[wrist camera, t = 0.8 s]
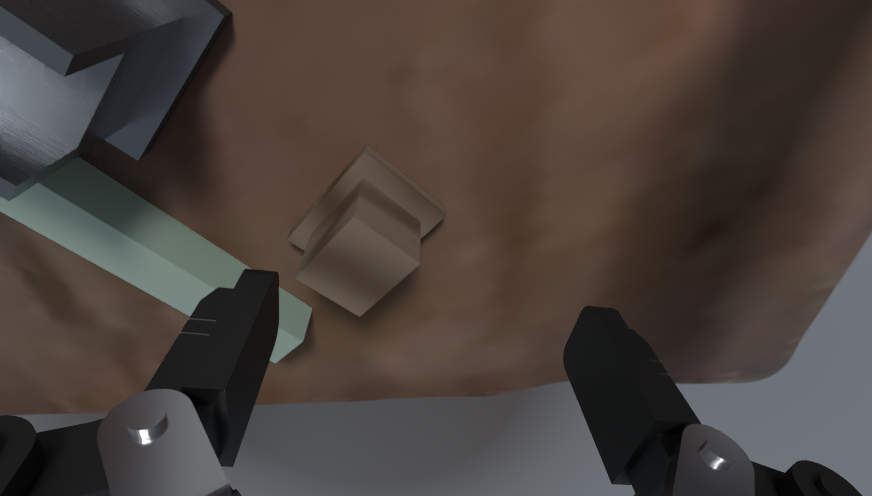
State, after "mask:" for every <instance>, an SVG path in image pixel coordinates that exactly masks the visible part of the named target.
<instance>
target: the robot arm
mask: <svg viewBox="0 0 872 496" xmlns="http://www.w3.org/2000/svg"><path fill="white" fill-rule="evenodd" d="M278 328H279V275H278V272H274V271H264V270H255V269H244V270H243V272H242V274H241V276H240V277H239V279H238V281H237V283H236V285H235V287H234V289H233V288H223V287H218V288H216V289H215V290H214V291H212V292H211V293H210V294H208V295H207V296H205V297H204V298H203V299H201V300H200V302H199V303H198V305H197V306H196V308H195V310H194V311H193V313H192V314H191V316H190V320H188V321H187V323H186V324H185V326H184V327H183V329H182V333H181V334H179V336H178V337H177V339H176V340H175V342H174V344H173V345H172V347H171V348H170V350H169V352H168V353H167V355H166V357H165V358H164V360H163V361H162V363H161V365H160V366H159V368H158V370H157V371H156V373H155V374H154V376H153V378H152V379H151V381H150V382H149V384H148V386H147V387H146V389H145V390H144V391H143V392H141V393H138V394H136V395H133V396H131V397H129V398H127V399H125V400H124V401H122V402H121V403H119V404H118V405H116V406H115V407H114V408H113V409H112V410H111V411H110V412H109V413H108V414H107V415H106V416H105V417H104V418H103V419H100V420H97V421H93V422H89V423H85V424H79V425H74V426H69V427H64V428H59V429H54V430H49V431H44V432H39V433H36V431H35V429H34V427H33V426H32V424H31V423H30V422H29V421H27V420H25V419H23V418H21V417H17V416H8V415H3V416H0V496H241V494H240V493H239V492H238V491H237V490H236V489H235V490H233V489H232V488H231V486H230V484H229V483H228V481H227V478H226V476H225V474H224V472H223V470H222V467H221V466H228V467H233V465H234V462H235V460H236V456H237V453H238V451H239V448H240V445H241V442H242V439H243V436H244V433H245V430H246V428H247V424H248V422H249V419H250V416H251V413H252V410H253V407H254V404H255V401H256V398H257V396H258V393H259V390H260V387H261V384H262V381H263V378H264V375H265V372H266V369H267V366H268V364H269V361H270V358H271V355H272V352H273V349H274V346H275V343H276V339H277V334H278ZM563 361H564V367H565V370H566V373H567V375H568V378H569V380H570V383H571V385H572V387H573V390H574V392H575V395H576V397H577V400H578V402H579V405H580V407H581V410H582V412H583V414H584V417H585V419H586V422H587V424H588V427H589V429H590V432H591V434H592V437H593V439H594V442H595V444H596V447H597V449H598V451H599V454H600V456H601V459H602V461H603V463H604V466H605V468H606V471H607V474H608V476H609V478H610V481H611V483H612V484H622V485H632V487H633V489H634V491H635V495H634V496H862V495H861V494H860V493H859V492H858V491H857V490H856V489H855V488H854V487H853V486H852V485H851V484H850V483H849V482H848V481H846V480H845V479H844V478H843V477H841V476H840V475H838V474H837V473H835V472H834V471H832V470H831V469H829V468H827V467H825V466H823V465H821V464H818V463H815V462H812V461H807V460H804V461H803V460H801V461H798V462H796V463H795V464H794V465H793V466H791V467H790V468H789V469H788V470H787V471H786V472H785V473H784V472H781V471H777V470H775V469H772V468H769V467H766V466H764V465H761V464H758V463H755V462H752V461H750V459H749V457H748V456H747V455H746V453H745V452H744V451H743V450H742V448H741V447H740V446H739V445H738V444H737V443H736V442H735V441H733V440H732V439H731V438H729V437H728V436H727V435H726V434H724V433H722V432H721V431H719V430H716V429H715V428H713V427H710V426H707V425H703V424H701V423H700V421H699V420H698V418H697V417H696V415H695V413H694V412H693V410H692V409H691V408H690V406H689V404H688V403H687V401H686V400H685V398H684V397H683V395H682V394H681V392H680V391H679V389H678V388H677V386H676V385H675V383H674V382H673V380H672V379H671V377H670V376H668V375H667V371H666V370H665V368H664V366H663V365H662V363H659V359H658V357H657V356H656V354H655V353H654V351H653V350H652V348H651V347H650V345H649V344H648V343H647V342H646V341H645V340H644V339H643V338H642V337H640V336H639V335H638V334H637V333H636V332H635V331H634V330H633V329H629V328H628V326H627V325H626V323H625V322H624V320H623V318H622V317H621V315H620V314H619V312H618V311H617V310H616V309H613V308H603V307H594V306H586V307H584V308H583V310H582V311H581V313H580V315H579V318H578V320H577V322H576V324H575V326H574V328H573V331H572V333H571V335H570V337H569V339H568V341H567V343H566V346H565V349H564V355H563Z"/></svg>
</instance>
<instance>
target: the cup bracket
mask: <svg viewBox="0 0 872 496" xmlns="http://www.w3.org/2000/svg"><path fill="white" fill-rule="evenodd" d="M231 14H232V12H231V11H229V10H228V9H227V8H226V7H225V6H223V5H222V4H221V3H220V2H219V1H217V0H0V197H2V198H4V199H6V200H8V201H11V200H12V199H14V198H15V197H17V196H18V195H20V194H21V193H23V192H24V191H26V190H28V189H29V188H31V187H32V186H34V185H35V184H37V183H38V182H40V181H41V180H43V179H45V178H46V177H48V176H49V175H51V174H52V173H54V172H55V171H57V170H58V169H60V168H62V167H63V166H65V165H66V164H68V163H69V162H71V161H72V160H74V159H75V158H77V157H78V156H80V155H82V154H83V153H85V152H86V151H88V150H89V149H91V148H92V147H94V146H95V145H97V144H99V143H100V142H102V141H103V140H105V141H107V142H108V143H110V144H112V145H113V146H115V147H116V148H118V149H120V150H121V151H123V152H124V153H126V154H128V155H129V156H131V157H133V158H134V159H136V160H137V161H139V160H140V159H141V158H142V157H144V156H145V155H146V154H147V153H148V152H149V150H150V149H151V147H152V145H153V144H154V142H155V140H156V139H157V137H158V135H159V134H160V132H161V130H162V129H163V127H164V125H165V124H166V122H167V120H168V119H169V117H170V115H171V114H172V112H173V110H174V109H175V107H176V105H177V104H178V102H179V100H180V99H181V97H182V95H183V94H184V92H185V90H186V89H187V87H188V85H189V84H190V82H191V80H192V79H193V77H194V75H195V74H196V72H197V70H198V69H199V67H200V65H201V64H202V62H203V60H204V59H205V57H206V55H207V54H208V52H209V50H210V49H211V47H212V45H213V44H214V42H215V40H216V39H217V37H218V35H219V34H220V32H221V30H222V29H223V27H224V25H225V24H226V22H227V20H228V19H229V17H230V15H231Z"/></svg>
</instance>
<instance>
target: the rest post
mask: <svg viewBox="0 0 872 496" xmlns="http://www.w3.org/2000/svg"><path fill="white" fill-rule="evenodd" d="M445 216H446V214H445V207H444V206H443V205H441V204H440V203H439V202H438V201H436V200H435V199H434V198H433V197H431V196H430V195H429V194H428V193H427V192H425V191H424V190H423V189H422V188H420V187H419V186H418V185H417V184H415V183H414V182H413V181H412V180H410V179H409V178H408V177H407V176H406V175H404V174H403V173H402V172H401V171H399V170H398V169H397V168H396V167H394V166H393V165H392V164H391V163H390V162H388V161H387V160H386V159H385V158H383V157H382V156H381V155H380V154H378V153H377V152H376V151H375V150H373V149H372V148H371V147H370V146H369V145H366V146H365V147H364V148H363V150H362V151H361V152H360V153H359V154H358V155H357V156H356V157H355V159H354V160H353V161H352V162H351V163H350V164H349V165H348V166H347V168H346V169H345V170H344V171H343V172H342V173H341V174H340V175H339V177H338V178H337V179H336V180H335V181H334V182H333V183H332V185H331V186H330V187H329V188H328V189H327V190H326V191H325V192H324V194H323V195H322V196H321V197H320V198H319V199H318V200H317V201H316V203H315V204H314V205H313V206H312V207H311V208H310V209H309V210H308V212H307V213H306V214H305V215H304V216H303V217H302V218H301V219H300V221H299V222H298V223H297V224H296V225H295V226H294V227H293V229H292V230H291V231H290V233H289V236H288V238H287V240H288V241H289V242H291V243H292V244H294V245H296V246H297V247H299V248H300V249H302V250H304V254H303V257H302V260H301V262H300V265H299V268H298V270H297V273H296V276H295V279H297V280H298V281H300V282H302V283H303V284H305V285H307V286H309V287H310V288H312V289H314V290H315V291H317V292H319V293H320V294H322V295H324V296H325V297H327V298H329V299H330V300H332V301H334V302H335V303H337V304H339V305H340V306H342V307H344V308H345V309H347V310H349V311H350V312H352V313H354V314H355V315H357V316H359V317H360V316H362V315H363V314H364V313H365V312H366V311H367V310H368V309H370V308H371V307H372V306H373V305H374V304H375V303H376V302H378V301H379V300H380V299H381V298H382V297H383V296H384V295H386V294H387V293H388V292H389V291H390V290H391V289H392V288H394V287H395V286H396V285H397V284H398V283H399V282H400V281H401V280H403V279H404V278H405V277H406V276H407V275H408V274H409V273H411V272H412V271H413V270H414V269H415V268H416V267H417V266H419V265H420V239H421V238H422V237H424V236H425V235H426V234H427V233H428V232H429V231H430V230H431V229H432V228H433V227H434V226H436V225H437V224H438V223H439V222H440V221H441V220H442V219H443V218H444V217H445Z"/></svg>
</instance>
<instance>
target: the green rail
mask: <svg viewBox="0 0 872 496" xmlns="http://www.w3.org/2000/svg"><path fill="white" fill-rule="evenodd" d="M0 212H2V213H4V214H6V215H8V216H10V217H11V218H13V219H15V220H17V221H19V222H20V223H22V224H24V225H26V226H28V227H29V228H31V229H33V230H35V231H37V232H38V233H40V234H42V235H44V236H46V237H47V238H49V239H51V240H53V241H55V242H56V243H58V244H60V245H62V246H64V247H66V248H67V249H69V250H71V251H73V252H75V253H76V254H78V255H80V256H82V257H84V258H85V259H87V260H89V261H91V262H93V263H94V264H96V265H98V266H100V267H102V268H103V269H105V270H107V271H109V272H111V273H113V274H114V275H116V276H118V277H120V278H122V279H123V280H125V281H127V282H129V283H131V284H132V285H134V286H136V287H138V288H140V289H141V290H143V291H145V292H147V293H149V294H150V295H152V296H154V297H156V298H158V299H159V300H161V301H163V302H165V303H167V304H169V305H170V306H172V307H174V308H176V309H178V310H179V311H181V312H183V313H185V314H187V315H188V316H191V314H192V313H193V311H194V310H195V308H196V306H197V305H198V303H199V302H200V300H201V299H203V298H204V297H205V296H207V295H208V294H210V293H211V292H212V291H214V290H215V289H216V288H218V287H223V288H233V289H234V287H235V285H236V283H237V281H238V279H239V277H240V276H241V274H242V272H243V270H244V269H251V268H249V267H248V266H246V265H245V264H243V263H242V262H240V261H239V260H237V259H235V258H234V257H232V256H231V255H229V254H228V253H226V252H225V251H223V250H222V249H220V248H219V247H217V246H215V245H214V244H212V243H211V242H209V241H208V240H206V239H205V238H203V237H202V236H200V235H199V234H197V233H195V232H194V231H192V230H191V229H189V228H188V227H186V226H185V225H183V224H182V223H180V222H178V221H177V220H175V219H174V218H172V217H171V216H169V215H168V214H166V213H165V212H163V211H162V210H160V209H158V208H157V207H155V206H154V205H152V204H151V203H149V202H148V201H146V200H145V199H143V198H142V197H140V196H138V195H137V194H135V193H134V192H132V191H131V190H129V189H128V188H126V187H125V186H123V185H122V184H120V183H118V182H117V181H115V180H114V179H112V178H111V177H109V176H108V175H106V174H105V173H103V172H101V171H100V170H98V169H97V168H95V167H94V166H92V165H91V164H89V163H88V162H86V161H85V160H83V159H81V158H80V157H77V158H75V159H74V160H72V161H71V162H69V163H68V164H66V165H65V166H63V167H62V168H60V169H58V170H57V171H55V172H54V173H52V174H51V175H49V176H48V177H46V178H45V179H43V180H41V181H40V182H38V183H37V184H35V185H34V186H32V187H31V188H29V189H28V190H26V191H24V192H23V193H21V194H20V195H18V196H17V197H15V198H14V199H12V200H11V201H8V200H6V199H4V198H2V197H0ZM311 312H312V308H311V307H309V306H308V305H306V304H305V303H303V302H302V301H300V300H299V299H297V298H296V297H294V296H292V295H291V294H289V293H288V292H286V291H285V290H283V289H282V288H280V287H279V328H278V334H277V339H276V343H275V346H274V349H273V352H272V355H271V358H270V361H271V362H273V363H276V362H278V361H279V360H280V359H282V358H283V357H284V356H285V355H287V354H288V353H289V352H291V351H292V350H293V349H294V348H296V347H297V346H298V345H299V344H301V343H302V342H303V340H304V336H305V333H306V329H307V326H308V323H309V319H310V316H311Z"/></svg>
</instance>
